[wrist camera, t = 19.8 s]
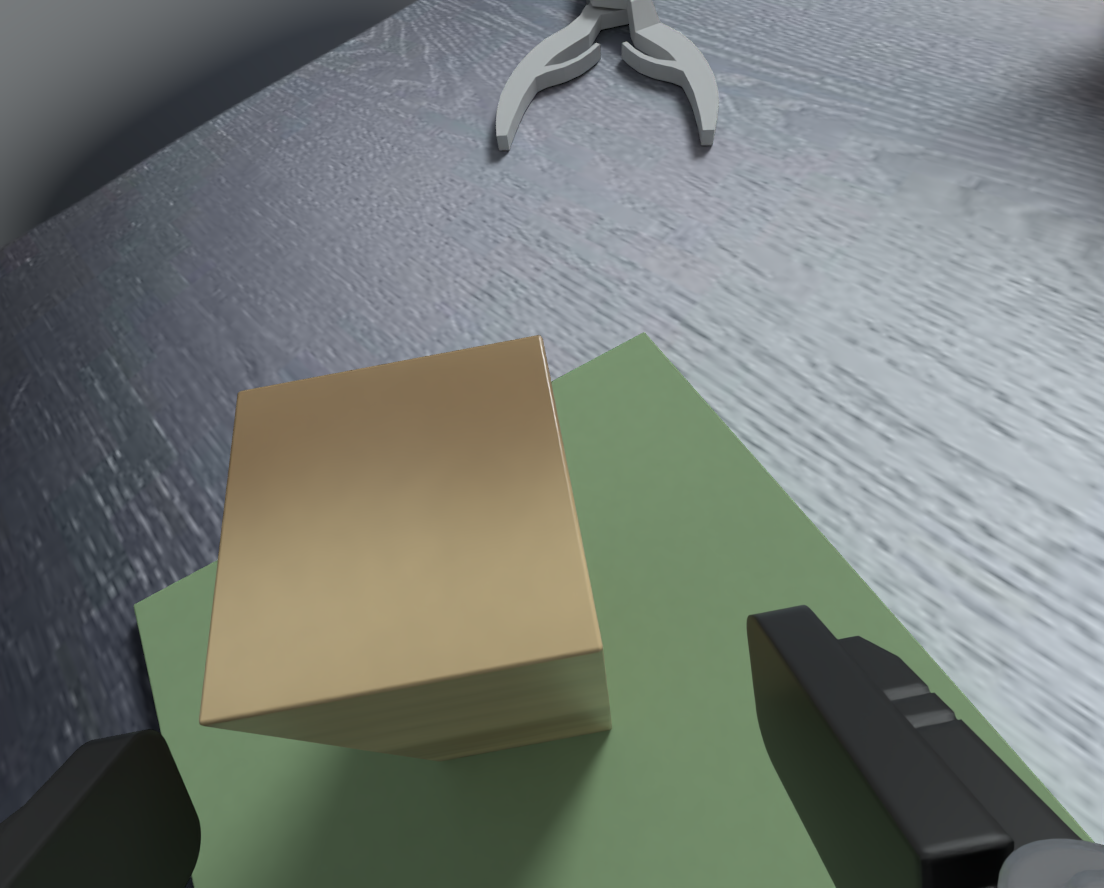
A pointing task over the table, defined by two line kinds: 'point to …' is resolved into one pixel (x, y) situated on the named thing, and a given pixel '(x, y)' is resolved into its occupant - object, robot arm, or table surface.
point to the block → (405, 563)
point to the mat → (632, 678)
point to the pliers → (668, 48)
